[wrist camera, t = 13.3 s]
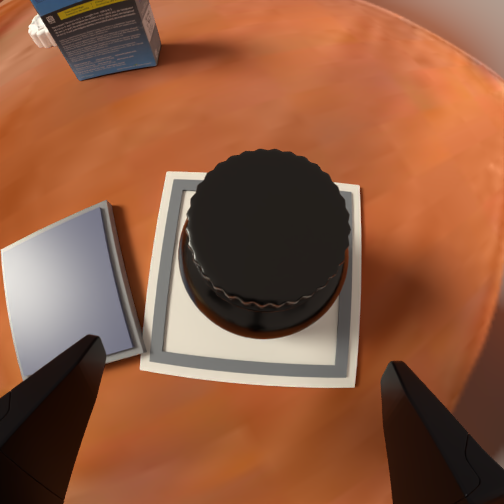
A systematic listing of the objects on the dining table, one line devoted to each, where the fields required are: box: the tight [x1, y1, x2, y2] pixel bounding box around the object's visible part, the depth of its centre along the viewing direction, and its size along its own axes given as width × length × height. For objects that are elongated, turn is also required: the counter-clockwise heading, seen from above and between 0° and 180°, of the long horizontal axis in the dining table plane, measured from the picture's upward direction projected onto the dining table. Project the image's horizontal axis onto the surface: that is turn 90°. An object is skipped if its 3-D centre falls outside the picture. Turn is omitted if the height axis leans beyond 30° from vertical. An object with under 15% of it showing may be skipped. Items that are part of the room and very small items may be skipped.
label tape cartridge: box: [30, 0, 161, 81], centre depth 20 cm, size 9×4×12 cm, turn 91°
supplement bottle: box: [178, 149, 351, 339], centre depth 15 cm, size 7×7×12 cm
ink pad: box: [1, 200, 147, 381], centre depth 20 cm, size 11×11×1 cm
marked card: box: [140, 172, 361, 388], centre depth 21 cm, size 14×14×1 cm
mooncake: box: [28, 14, 57, 48], centre depth 28 cm, size 12×12×4 cm
